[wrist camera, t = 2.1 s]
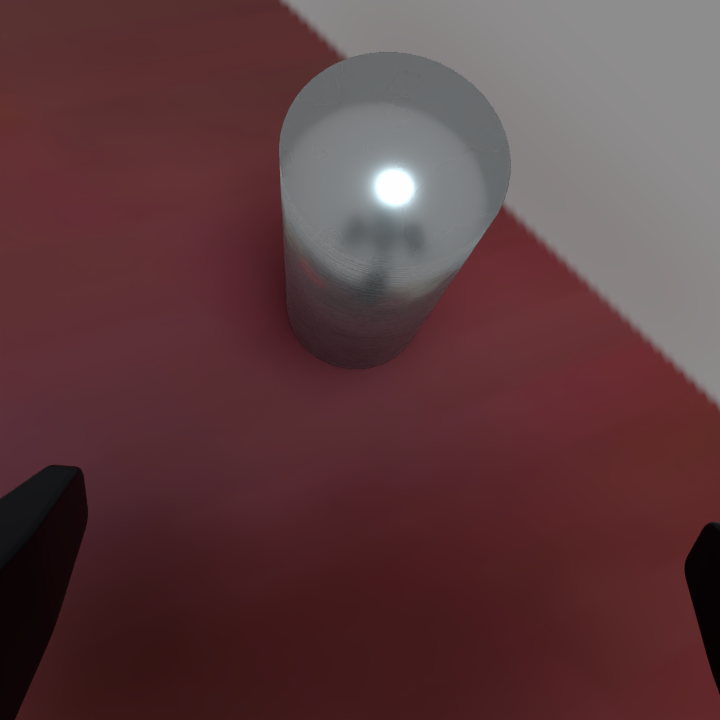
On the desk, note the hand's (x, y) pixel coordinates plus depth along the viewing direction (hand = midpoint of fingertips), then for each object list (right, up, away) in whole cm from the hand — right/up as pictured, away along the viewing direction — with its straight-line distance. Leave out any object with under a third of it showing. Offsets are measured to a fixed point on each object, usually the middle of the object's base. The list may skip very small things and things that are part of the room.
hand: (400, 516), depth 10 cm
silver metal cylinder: (-1, +4, +15) cm, 15 cm away
